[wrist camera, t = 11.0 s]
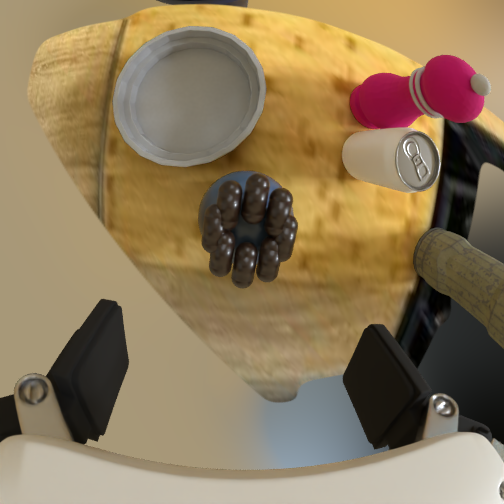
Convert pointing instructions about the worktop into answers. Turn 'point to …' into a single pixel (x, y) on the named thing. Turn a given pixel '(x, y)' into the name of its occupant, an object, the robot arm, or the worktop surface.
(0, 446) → the robot arm
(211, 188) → the ball stand
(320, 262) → the worktop surface
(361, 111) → the pepper mill
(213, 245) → the chocolate capsule cluster
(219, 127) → the bowl
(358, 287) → the worktop surface
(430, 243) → the moai statue figurine
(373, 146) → the can
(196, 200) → the worktop surface
